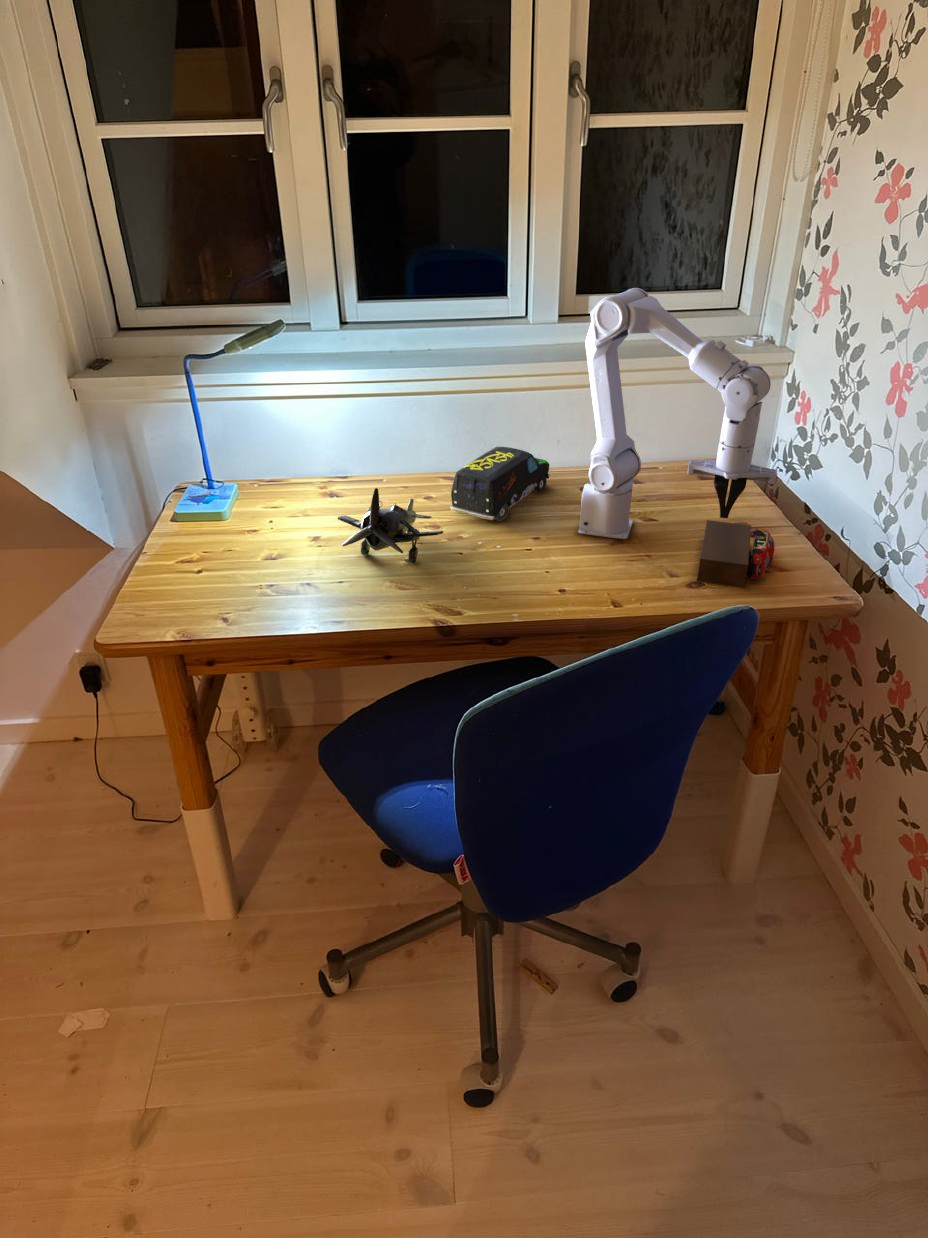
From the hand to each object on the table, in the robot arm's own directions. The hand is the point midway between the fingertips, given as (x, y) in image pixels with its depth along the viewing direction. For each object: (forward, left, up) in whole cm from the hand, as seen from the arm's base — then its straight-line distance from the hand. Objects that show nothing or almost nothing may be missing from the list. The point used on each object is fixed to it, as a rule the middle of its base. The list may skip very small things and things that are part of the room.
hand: (723, 515), depth 148 cm
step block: (+1, 0, -9) cm, 9 cm away
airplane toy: (-58, -13, -9) cm, 60 cm away
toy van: (-45, +15, -9) cm, 48 cm away
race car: (+5, 0, -7) cm, 9 cm away
